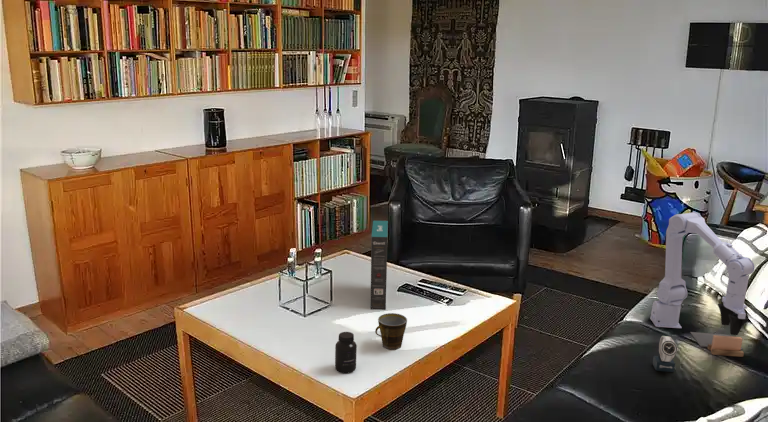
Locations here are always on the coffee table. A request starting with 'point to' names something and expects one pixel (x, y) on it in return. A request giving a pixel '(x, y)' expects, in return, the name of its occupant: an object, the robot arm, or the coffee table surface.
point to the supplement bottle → (345, 353)
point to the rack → (725, 352)
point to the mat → (705, 338)
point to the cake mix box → (379, 265)
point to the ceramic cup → (392, 330)
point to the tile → (726, 343)
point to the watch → (665, 355)
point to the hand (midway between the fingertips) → (729, 329)
